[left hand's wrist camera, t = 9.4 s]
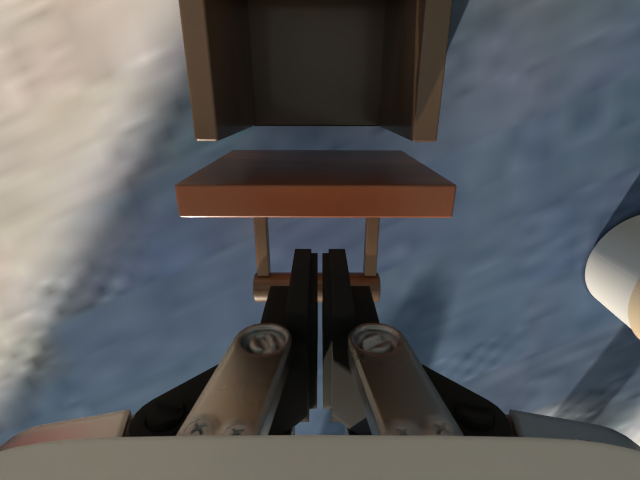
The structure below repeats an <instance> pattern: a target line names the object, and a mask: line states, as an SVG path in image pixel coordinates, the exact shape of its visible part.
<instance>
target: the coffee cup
mask: <svg viewBox="0 0 640 480" xmlns="http://www.w3.org/2000/svg"><path fill="white" fill-rule="evenodd" d="M585 280H586V284H587V287H588V289H589V291H590V293H591V294H592V295H593V296H594V297H595V298H596V299H597V300H598V301H600V302H601V303H602V304H603V305H604V306H605V307H607V308H608V309H609V310H610V311H611V312H612V313H614V314H615V315H616V316H617V317H618V318H619V319H621V320H622V321H623V322H624V323H625V324H626V325H628V326H629V327H630V328H631V329H632V331H633V332H634V334H635V335H636V336H637V337H638V338H639V339H640V215H638V216H635V217H632V218H630V219H628V220H626V221H624V222H622V223H620V224H618V225H617V226H615V227H614V228H613V229H611V230H610V231H609V232H608V233H607V234H605V235H604V236H603V237H602V238H601V240H600V241H599V242H598V243H597V244H596V246H595V247H594V249H593V250H592V252H591V254H590V256H589V259H588V261H587V265H586V270H585Z"/></svg>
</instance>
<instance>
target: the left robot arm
mask: <svg viewBox="0 0 640 480" xmlns="http://www.w3.org/2000/svg"><path fill="white" fill-rule="evenodd" d="M317 344H318V268H317V253H311V249H295V253H294V259H293V265H292V271H291V277H290V283H289V286H270V289H269V293H268V297H267V301H266V305H265V308H264V312H263V316H262V320H261V323H260V324H254V325H252V326H249V327H246V328H245V329H243V330H242V331H240V332H239V333H238V334H237V336H236V337H235V338H234V340H233V342H232V343H231V345H230V347H229V348H228V350H227V352H226V353H225V355H224V357H223V358H222V360H221V362H220V363H219V364H218V365H216V366H214V367H212V368H211V369H209V370H207V371H205V372H203V373H201V374H199V375H198V376H196V377H194V378H192V379H190V380H188V381H187V382H185V383H183V384H181V385H179V386H177V387H175V388H174V389H172V390H170V391H168V392H166V393H164V394H162V395H161V396H159V397H157V398H155V399H153V400H152V401H150V402H149V403H147V404H146V405H144V406H143V407H142V408H141V409H140V410H139V411H138V412H137V413H136V414H135V415H131V411H130V409H129V410H124V411H118V412H112V413H107V414H101V415H95V416H90V417H84V418H79V419H73V420H67V421H62V422H56V423H50V424H45V425H40V426H36V427H33V428H30V429H27V430H25V431H23V432H21V433H19V434H17V435H15V436H13V437H12V438H11V439H9V440H8V441H7V442H5V443H4V444H3V445H2V446H1V447H0V480H640V447H639V446H638V445H637V444H636V443H635V442H633V441H632V440H631V439H629V438H628V437H627V436H625V435H623V434H621V433H619V432H617V431H615V430H613V429H610V428H607V427H604V426H600V425H595V424H590V423H584V422H578V421H573V420H567V419H561V418H556V417H550V416H545V415H539V414H533V413H528V412H522V411H516V410H511V409H510V411H509V415H505V414H504V413H503V412H502V411H501V410H500V409H499V408H498V407H497V406H496V405H494V404H493V403H491V402H490V401H488V400H487V399H485V398H483V397H481V396H479V395H478V394H476V393H474V392H472V391H470V390H468V389H466V388H465V387H463V386H461V385H459V384H457V383H455V382H453V381H452V380H450V379H448V378H446V377H444V376H442V375H441V374H439V373H437V372H435V371H433V370H431V369H429V368H428V367H426V366H424V365H422V364H421V363H420V362H419V360H418V358H417V357H416V355H415V353H414V352H413V350H412V348H411V347H410V345H409V343H408V342H407V340H406V338H405V337H404V336H403V334H402V333H401V332H400V331H398V330H397V329H395V328H394V327H391V326H388V325H386V324H380V323H379V320H378V316H377V312H376V308H375V305H374V301H373V297H372V293H371V289H370V286H351V283H350V277H349V271H348V265H347V259H346V253H345V249H329V253H323V268H322V344H323V409H331V422H341V423H342V424H343V425H345V435H295V425H297V424H298V423H299V422H309V409H317Z"/></svg>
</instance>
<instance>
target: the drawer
mask: <svg viewBox="0 0 640 480" xmlns="http://www.w3.org/2000/svg"><path fill="white" fill-rule="evenodd" d="M179 7H180V16H181V24H182V33H183V41H184V49H185V58H186V66H187V75H188V83H189V91H190V100H191V108H192V116H193V125H194V133H195V139H196V140H197V141H218V140H220V139H223V138H225V137H228V136H230V135H233V134H235V133H237V132H240V131H242V130H245V129H247V128H250V127H252V126H381V127H383V128H385V129H387V130H389V131H392V132H394V133H396V134H398V135H401V136H403V137H405V138H407V139H409V140H412V141H414V142H435V141H436V140H437V131H438V122H439V114H440V105H441V96H442V88H443V79H444V70H445V61H446V53H447V44H448V35H449V26H450V18H451V9H452V0H179ZM175 189H176V196H177V203H178V210H179V216H180V217H254V230H255V245H256V260H257V273H256V274H255V276H254V281H253V296H254V300H255V301H256V302H266V301H267V297H268V293H269V289H270V286H289V283H290V277H291V273H270V252H269V233H268V217H366V225H365V245H364V265H363V272H364V273H349V277H350V283H351V286H370V289H371V293H372V297H373V301H374V302H378V301H379V299H380V277H379V274H378V273H376V268H377V252H378V237H379V221H380V217H426V218H450V217H452V214H453V207H454V200H455V192H456V185H455V184H454V183H452V182H450V181H449V180H447V179H446V178H444V177H442V176H441V175H439V174H438V173H436V172H434V171H433V170H431V169H430V168H428V167H427V166H425V165H423V164H422V163H420V162H419V161H417V160H415V159H414V158H412V157H411V156H409V155H407V154H406V153H404V152H403V151H351V150H233V151H231V152H229V153H228V154H226V155H224V156H223V157H221V158H219V159H218V160H216V161H214V162H213V163H211V164H209V165H208V166H206V167H204V168H203V169H201V170H199V171H197V172H196V173H194V174H192V175H191V176H189V177H187V178H186V179H184V180H182V181H181V182H179V183H177V184H176V185H175ZM318 302H322V273H318Z"/></svg>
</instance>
